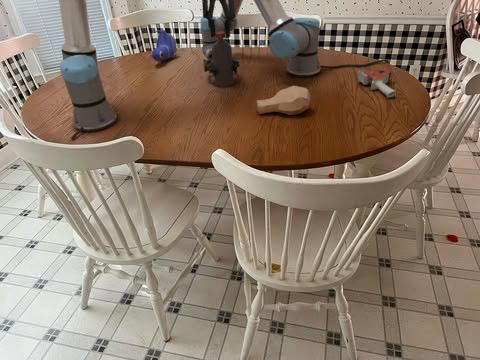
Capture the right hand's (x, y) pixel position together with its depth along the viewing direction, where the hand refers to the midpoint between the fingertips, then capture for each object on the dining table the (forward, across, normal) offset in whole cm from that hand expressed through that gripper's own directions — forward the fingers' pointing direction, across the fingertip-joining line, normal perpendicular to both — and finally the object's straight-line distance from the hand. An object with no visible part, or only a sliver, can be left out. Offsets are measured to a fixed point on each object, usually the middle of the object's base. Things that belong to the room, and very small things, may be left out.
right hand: (225, 71), depth 151 cm
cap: (-5, 0, +15) cm, 15 cm away
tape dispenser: (+25, -58, -7) cm, 63 cm away
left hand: (-5, 0, +13) cm, 14 cm away
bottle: (-5, 0, -7) cm, 8 cm away
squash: (+32, -14, -7) cm, 36 cm away
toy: (-48, +23, -7) cm, 54 cm away
